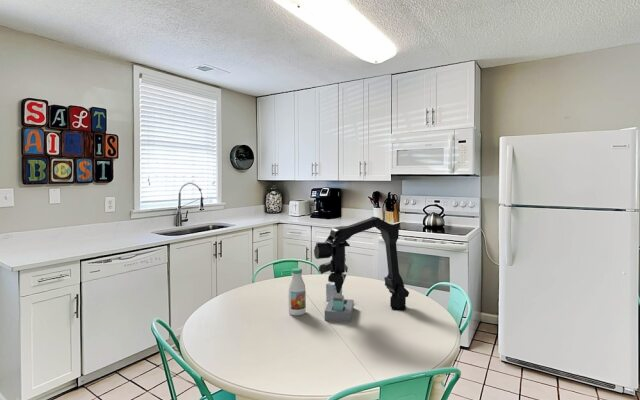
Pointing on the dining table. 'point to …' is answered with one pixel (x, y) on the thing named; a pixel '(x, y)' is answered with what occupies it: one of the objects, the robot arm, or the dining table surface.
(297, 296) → the milk bottle
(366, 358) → the dining table surface
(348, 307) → the socket plate
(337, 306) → the plug
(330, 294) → the medicine box
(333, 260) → the robot arm
